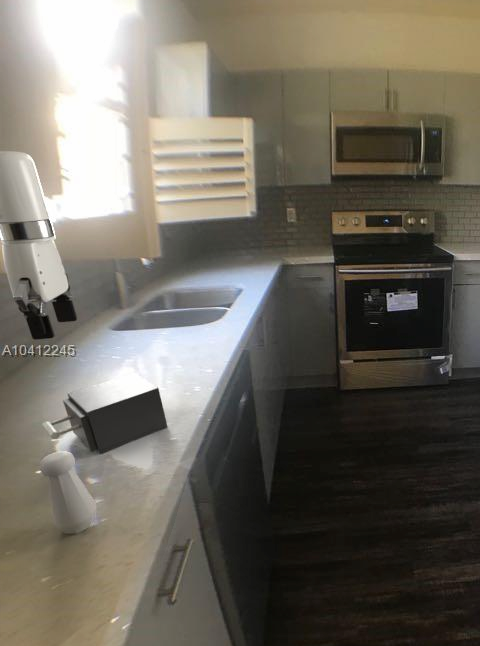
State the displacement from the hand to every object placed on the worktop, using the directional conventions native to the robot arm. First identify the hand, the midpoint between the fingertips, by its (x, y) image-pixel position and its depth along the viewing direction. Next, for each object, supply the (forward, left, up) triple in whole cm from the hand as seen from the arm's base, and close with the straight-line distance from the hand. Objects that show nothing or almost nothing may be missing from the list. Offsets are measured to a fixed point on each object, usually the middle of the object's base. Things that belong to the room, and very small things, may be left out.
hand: (56, 329), depth 82 cm
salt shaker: (+3, -23, -26) cm, 35 cm away
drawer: (0, +5, -25) cm, 26 cm away
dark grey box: (+4, +7, -26) cm, 27 cm away
